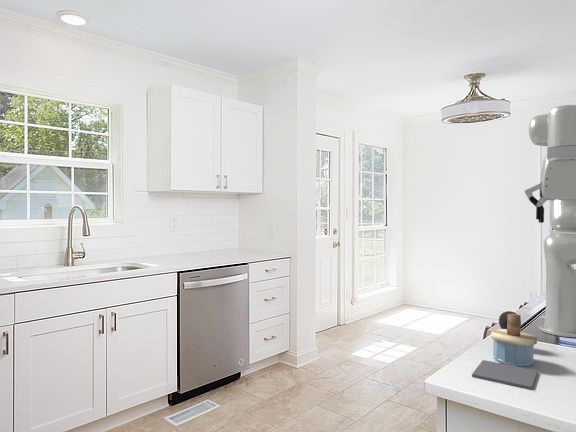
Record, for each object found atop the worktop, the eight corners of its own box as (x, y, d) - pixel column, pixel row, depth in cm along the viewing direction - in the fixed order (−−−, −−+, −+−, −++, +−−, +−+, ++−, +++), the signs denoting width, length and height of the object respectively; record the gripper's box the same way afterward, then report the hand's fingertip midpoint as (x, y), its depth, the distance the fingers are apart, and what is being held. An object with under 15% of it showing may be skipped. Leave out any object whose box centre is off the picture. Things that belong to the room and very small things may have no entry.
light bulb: (524, 349, 119) (525, 313, 119) (505, 349, 119) (506, 313, 119) (512, 343, 125) (513, 309, 125) (494, 343, 125) (494, 309, 125)
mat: (482, 362, 109) (482, 359, 109) (537, 373, 102) (537, 370, 102) (471, 376, 99) (472, 374, 99) (531, 389, 92) (531, 386, 92)
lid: (495, 331, 118) (495, 308, 117) (538, 338, 111) (539, 314, 111) (487, 340, 109) (487, 315, 109) (534, 348, 103) (535, 322, 103)
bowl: (497, 352, 117) (497, 332, 117) (535, 359, 111) (535, 338, 111) (490, 361, 109) (490, 340, 109) (531, 369, 104) (531, 347, 104)
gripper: (600, 156, 109) (599, 224, 109) (523, 158, 116) (522, 222, 116) (610, 152, 102) (608, 224, 102) (527, 154, 109) (526, 222, 109)
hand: (562, 223), depth 109 cm, fingers open, 9 cm apart
